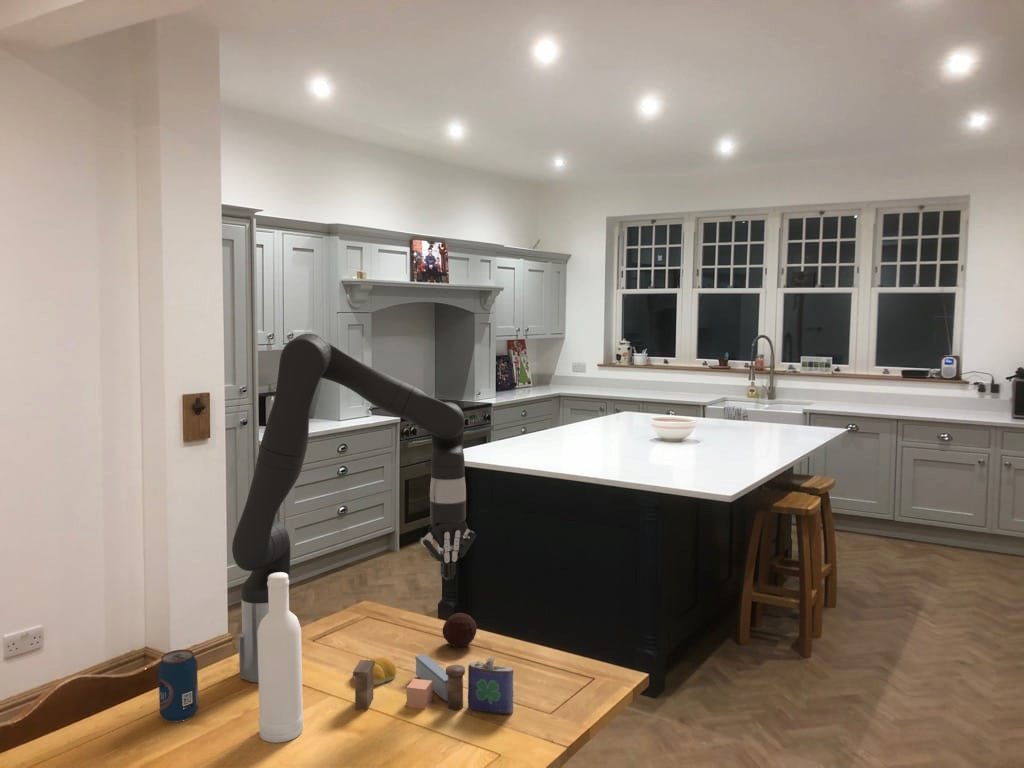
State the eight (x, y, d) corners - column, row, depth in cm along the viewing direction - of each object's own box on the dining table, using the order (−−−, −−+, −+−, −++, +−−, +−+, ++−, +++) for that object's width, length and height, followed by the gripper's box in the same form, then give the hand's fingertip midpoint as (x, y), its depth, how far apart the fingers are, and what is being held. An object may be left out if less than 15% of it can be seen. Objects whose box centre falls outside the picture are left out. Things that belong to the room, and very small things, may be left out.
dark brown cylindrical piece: (444, 711, 159) (444, 672, 158) (447, 702, 162) (447, 664, 162) (463, 711, 158) (463, 673, 158) (466, 702, 162) (466, 665, 161)
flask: (514, 710, 159) (514, 657, 158) (510, 717, 156) (510, 663, 155) (470, 704, 162) (469, 652, 161) (465, 711, 159) (465, 658, 158)
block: (425, 709, 160) (425, 689, 159) (406, 706, 161) (406, 687, 160) (432, 699, 164) (432, 680, 163) (413, 697, 165) (413, 678, 164)
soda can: (153, 716, 156) (151, 656, 155) (187, 703, 162) (185, 645, 161) (170, 728, 152) (168, 666, 151) (205, 714, 157) (203, 654, 156)
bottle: (310, 723, 154) (307, 569, 151) (292, 745, 146) (289, 583, 143) (271, 720, 155) (267, 567, 152) (251, 741, 147) (247, 580, 145)
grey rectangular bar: (455, 699, 163) (455, 678, 163) (445, 702, 162) (445, 681, 161) (424, 673, 175) (424, 653, 175) (415, 675, 174) (415, 655, 173)
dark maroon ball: (475, 637, 196) (475, 606, 195) (478, 652, 186) (478, 620, 186) (441, 638, 194) (441, 607, 194) (443, 654, 185) (443, 622, 185)
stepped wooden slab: (353, 710, 159) (353, 672, 158) (360, 697, 164) (360, 659, 164) (368, 710, 159) (368, 672, 158) (375, 697, 164) (374, 660, 164)
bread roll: (403, 677, 174) (403, 659, 174) (369, 690, 168) (369, 672, 167) (380, 665, 180) (379, 648, 180) (346, 678, 173) (346, 660, 173)
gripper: (427, 505, 163) (427, 588, 165) (484, 497, 170) (484, 578, 171) (411, 498, 170) (412, 578, 171) (467, 491, 176) (467, 568, 178)
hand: (448, 578), depth 171 cm, fingers closed
